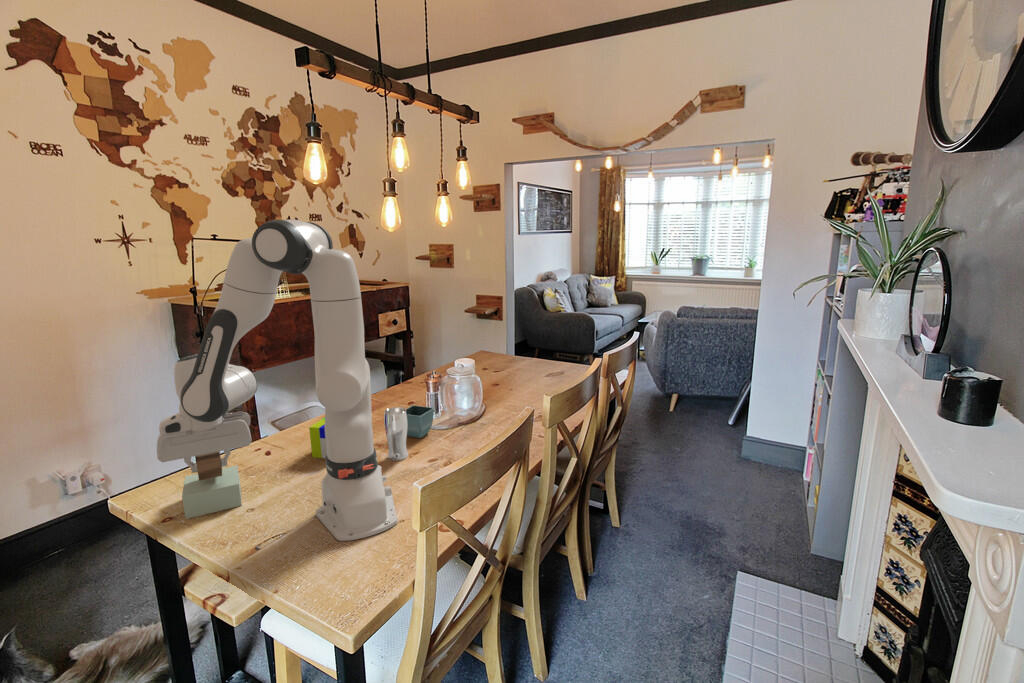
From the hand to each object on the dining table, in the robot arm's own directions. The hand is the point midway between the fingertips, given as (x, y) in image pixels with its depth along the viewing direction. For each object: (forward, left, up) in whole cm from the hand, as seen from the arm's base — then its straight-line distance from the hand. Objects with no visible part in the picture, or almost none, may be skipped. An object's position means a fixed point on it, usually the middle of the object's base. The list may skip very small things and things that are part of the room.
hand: (209, 468), depth 124 cm
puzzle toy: (+15, -33, -10) cm, 37 cm away
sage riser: (0, 0, -9) cm, 9 cm away
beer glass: (+1, -49, -9) cm, 50 cm away
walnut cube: (0, 0, -2) cm, 2 cm away
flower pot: (+14, -60, -9) cm, 62 cm away
